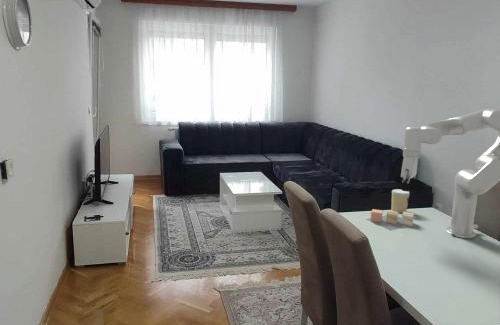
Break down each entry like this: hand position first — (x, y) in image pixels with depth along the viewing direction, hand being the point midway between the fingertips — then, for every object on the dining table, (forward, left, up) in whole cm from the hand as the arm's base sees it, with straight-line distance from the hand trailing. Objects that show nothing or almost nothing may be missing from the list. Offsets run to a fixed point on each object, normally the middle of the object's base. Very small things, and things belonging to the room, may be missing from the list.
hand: (408, 188), depth 189 cm
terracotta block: (+4, -15, -20) cm, 25 cm away
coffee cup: (-20, -23, -22) cm, 37 cm away
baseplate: (-2, -10, -21) cm, 24 cm away
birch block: (-8, -5, -20) cm, 22 cm away
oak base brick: (-2, -10, -20) cm, 23 cm away
